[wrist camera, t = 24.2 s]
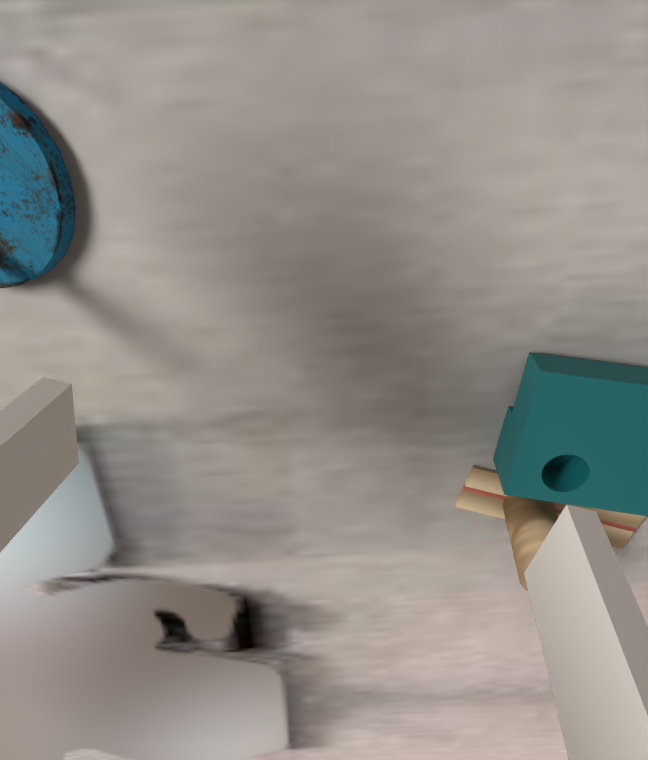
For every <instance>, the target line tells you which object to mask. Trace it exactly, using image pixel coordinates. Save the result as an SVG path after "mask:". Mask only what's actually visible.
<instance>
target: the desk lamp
mask: <svg viewBox="0 0 648 760" xmlns="http://www.w3.org/2000/svg"><path fill="white" fill-rule="evenodd" d="M74 216H75V204H74V198H73V193H72V187H71V181H70V177H69V175H68V172H67V170H66V167H65V165H64V162H63V160H62V157H61V155H60V152H59V150H58V148H57V146H56V145H55V143H54V142H53V140H52V138H51V137H50V135H49V134H48V132H47V131H46V129H45V127H44V126H43V124H42V123H41V121H40V120H39V119H38V118H37V116H36V115H35V114H34V113H33V112H32V111H31V110H30V109H29V108H28V107H27V106H26V105H25V104H24V103H23V102H22V101H21V99H20V98H19V97H18V96H17V95H16V94H15V93H13V92H12V91H11V90H9V89H8V88H6V87H5V86H3V85H2V84H1V83H0V288H5V287H12V286H19V285H22V284H24V283H26V282H29V281H31V280H34V279H35V278H37V277H39V276H41V275H43V274H45V273H47V272H49V271H51V270H52V269H53V268H54V267H55V265H56V264H57V263H58V262H59V261H60V260H61V259H62V257H63V256H64V255H65V253H66V251H67V248H68V246H69V243H70V240H71V238H72V235H73V229H74Z"/></svg>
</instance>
